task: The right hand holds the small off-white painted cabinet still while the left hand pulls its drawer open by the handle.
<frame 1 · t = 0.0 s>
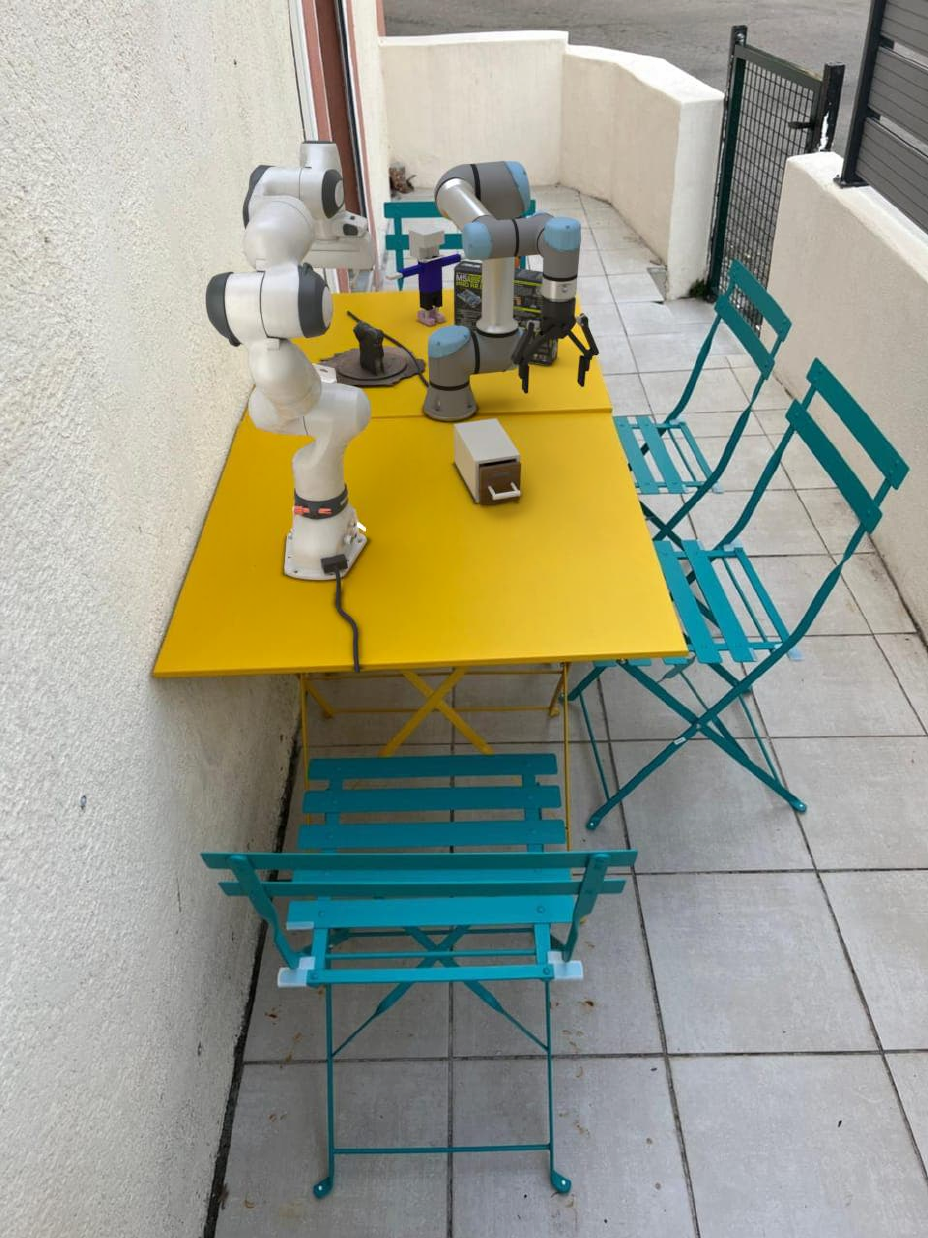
left hand: (332, 287, 199), 48 cm above the table, tool pointing down, fingers open, 8 cm apart
right hand: (552, 387, 205), 28 cm above the table, tool pointing down, fingers open, 13 cm apart
toy: (430, 321, 308), on the table
cabinet: (485, 479, 227), on the table
sculpture: (369, 368, 279), on the table
drawer: (492, 471, 219), point 6 cm above the table, slide at 1.4 cm
figurine: (512, 303, 320), on the table
ink box: (324, 417, 254), on the table
box: (505, 354, 286), on the table
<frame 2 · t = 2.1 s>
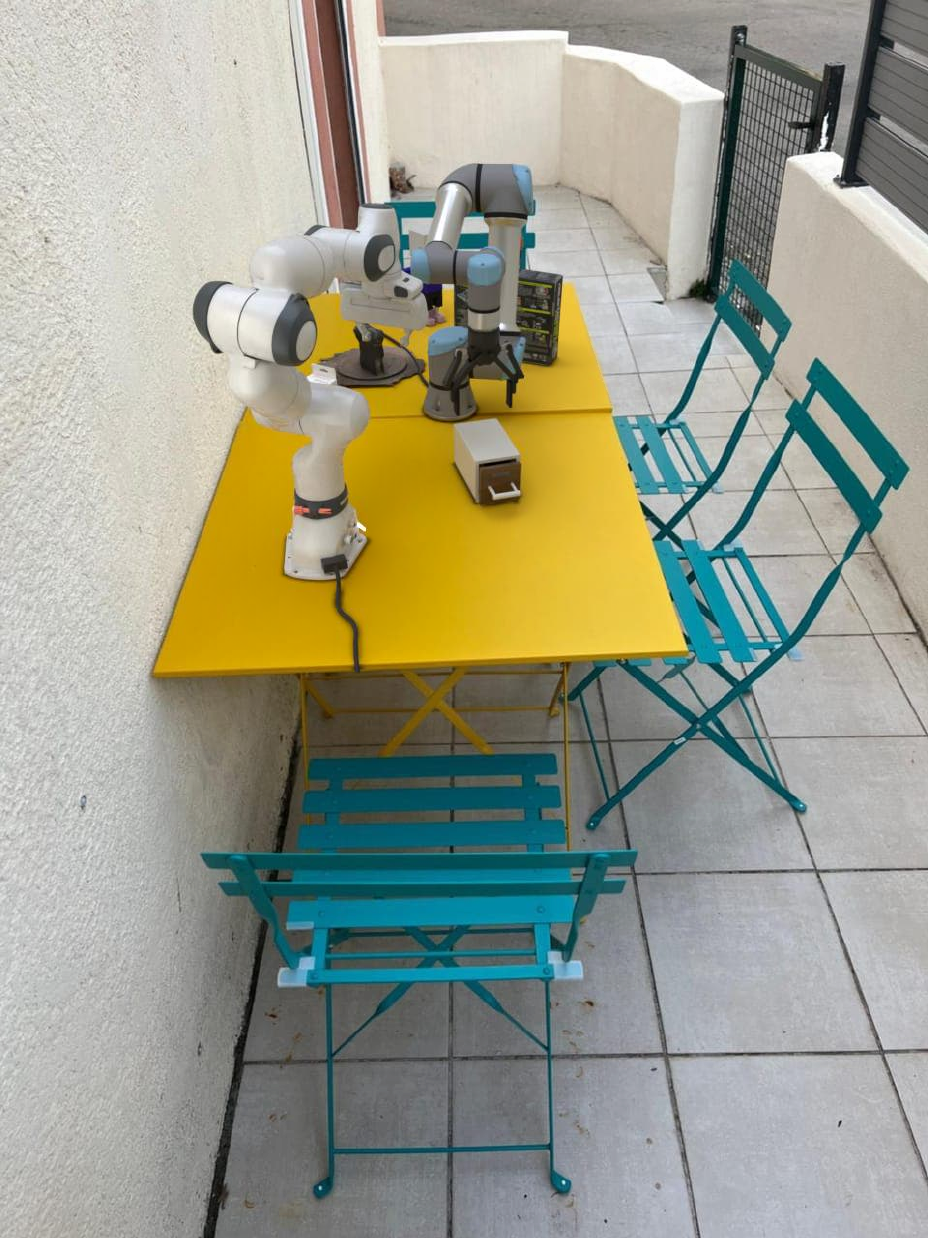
left hand: (385, 342, 202), 37 cm above the table, tool pointing down, fingers open, 8 cm apart
right hand: (483, 409, 220), 17 cm above the table, tool pointing down, fingers open, 13 cm apart
nothing on the table moved.
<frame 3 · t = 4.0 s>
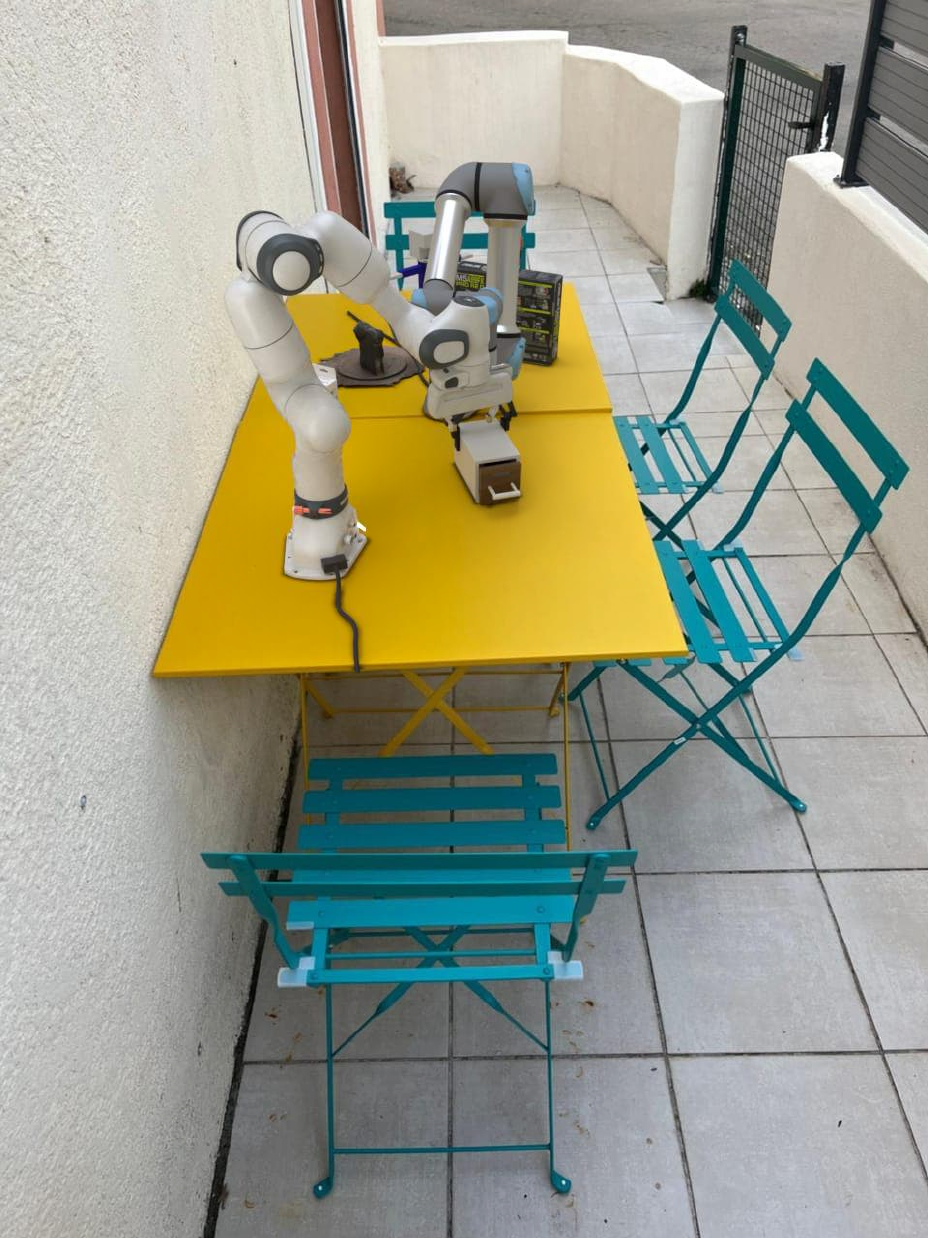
left hand: (471, 426, 206), 21 cm above the table, tool pointing down, fingers open, 8 cm apart
right hand: (480, 445, 226), 7 cm above the table, tool pointing down, fingers closed on cabinet, 11 cm apart
cabinet: (485, 479, 227), on the table, touching right hand
everything else where it was.
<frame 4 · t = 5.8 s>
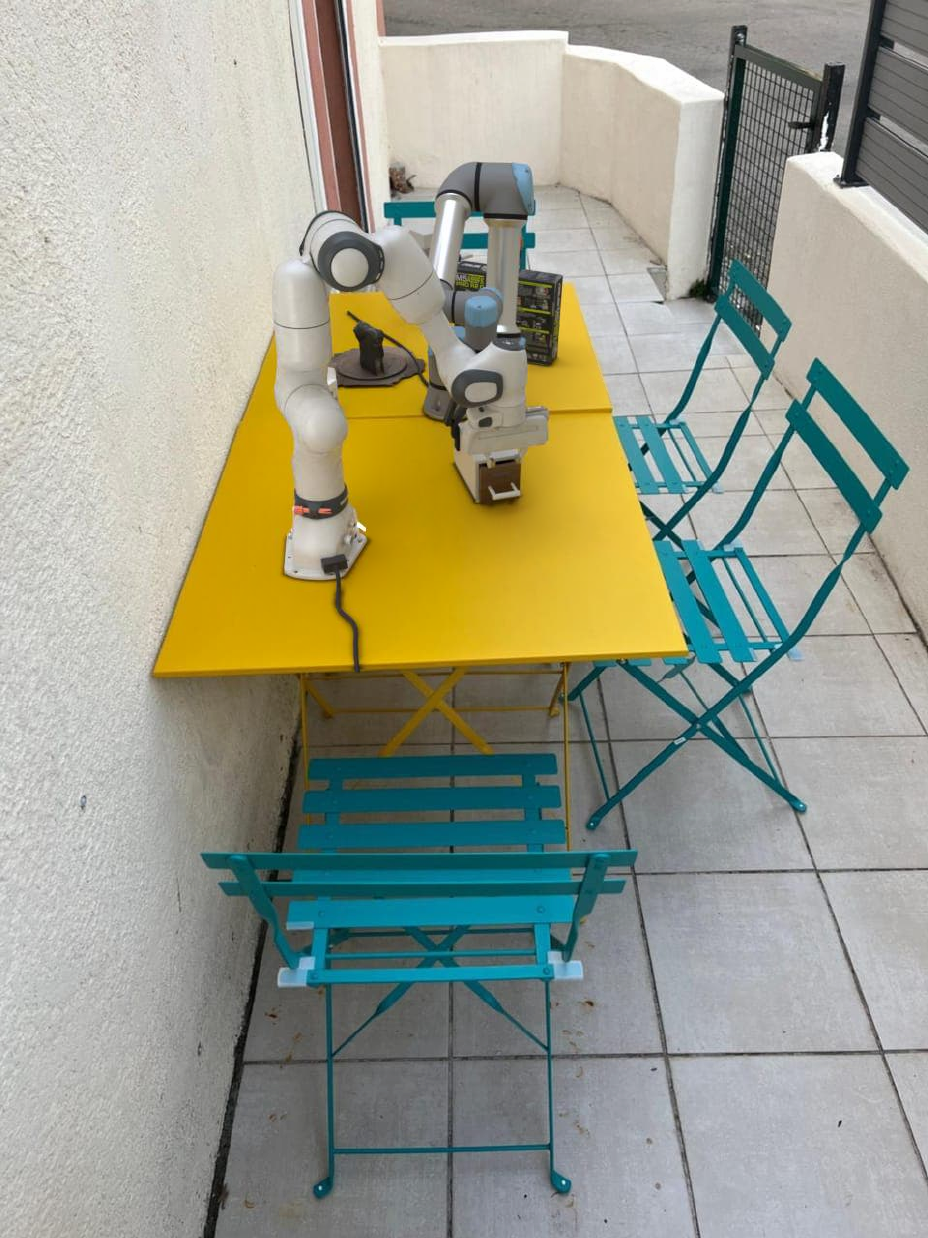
left hand: (504, 464, 208), 13 cm above the table, tool pointing down, fingers open, 5 cm apart
right hand: (480, 445, 226), 7 cm above the table, tool pointing down, fingers closed on cabinet, 11 cm apart
cabinet: (485, 479, 227), on the table, touching right hand
everything else where it was.
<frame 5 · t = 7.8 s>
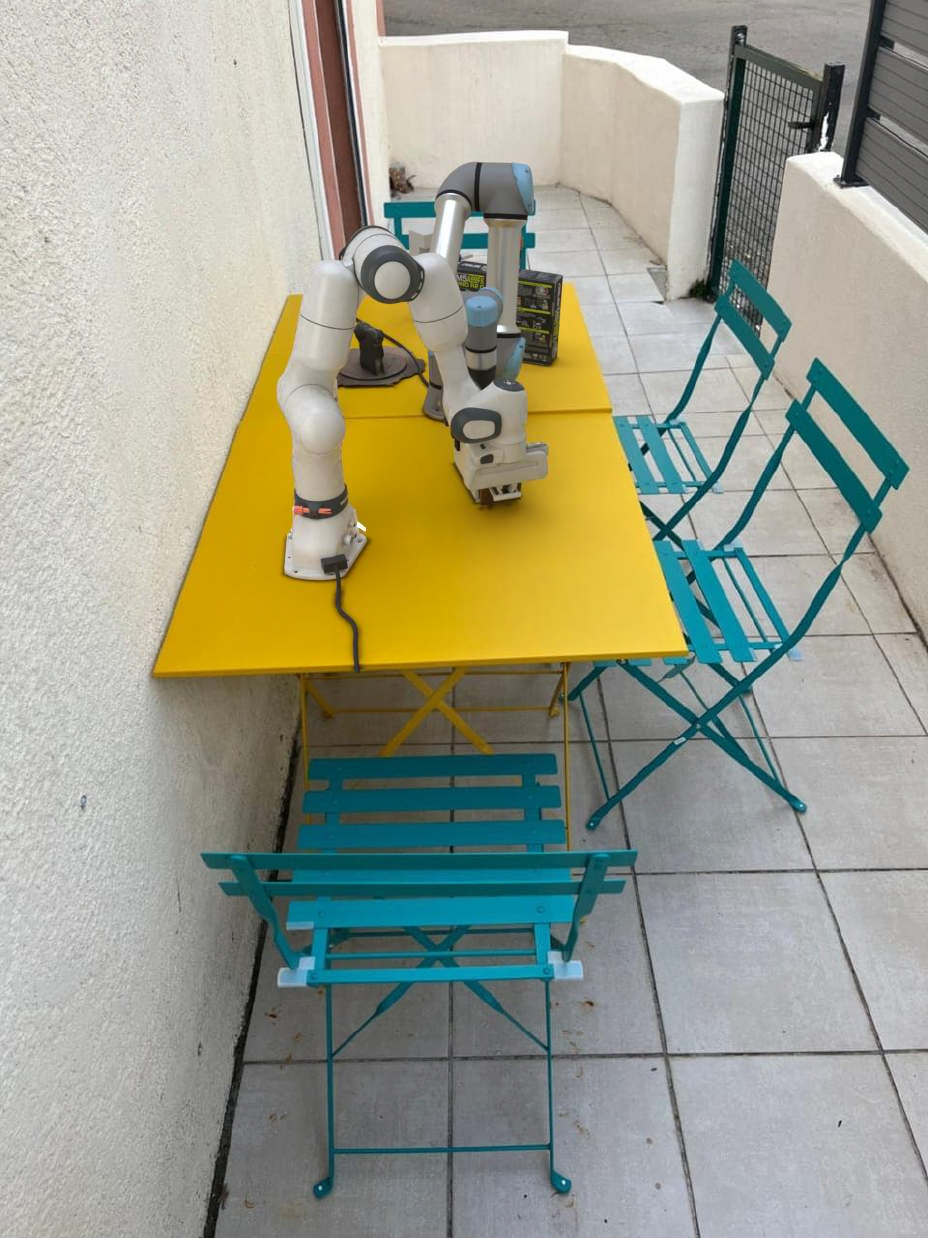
left hand: (505, 498, 213), 4 cm above the table, tool pointing down, fingers closed, pressing on drawer
right hand: (480, 445, 226), 7 cm above the table, tool pointing down, fingers closed on cabinet, 11 cm apart
cabinet: (485, 479, 227), on the table, touching right hand
drawer: (493, 472, 219), point 6 cm above the table, slide at 2.0 cm, touching left hand
everything else where it was.
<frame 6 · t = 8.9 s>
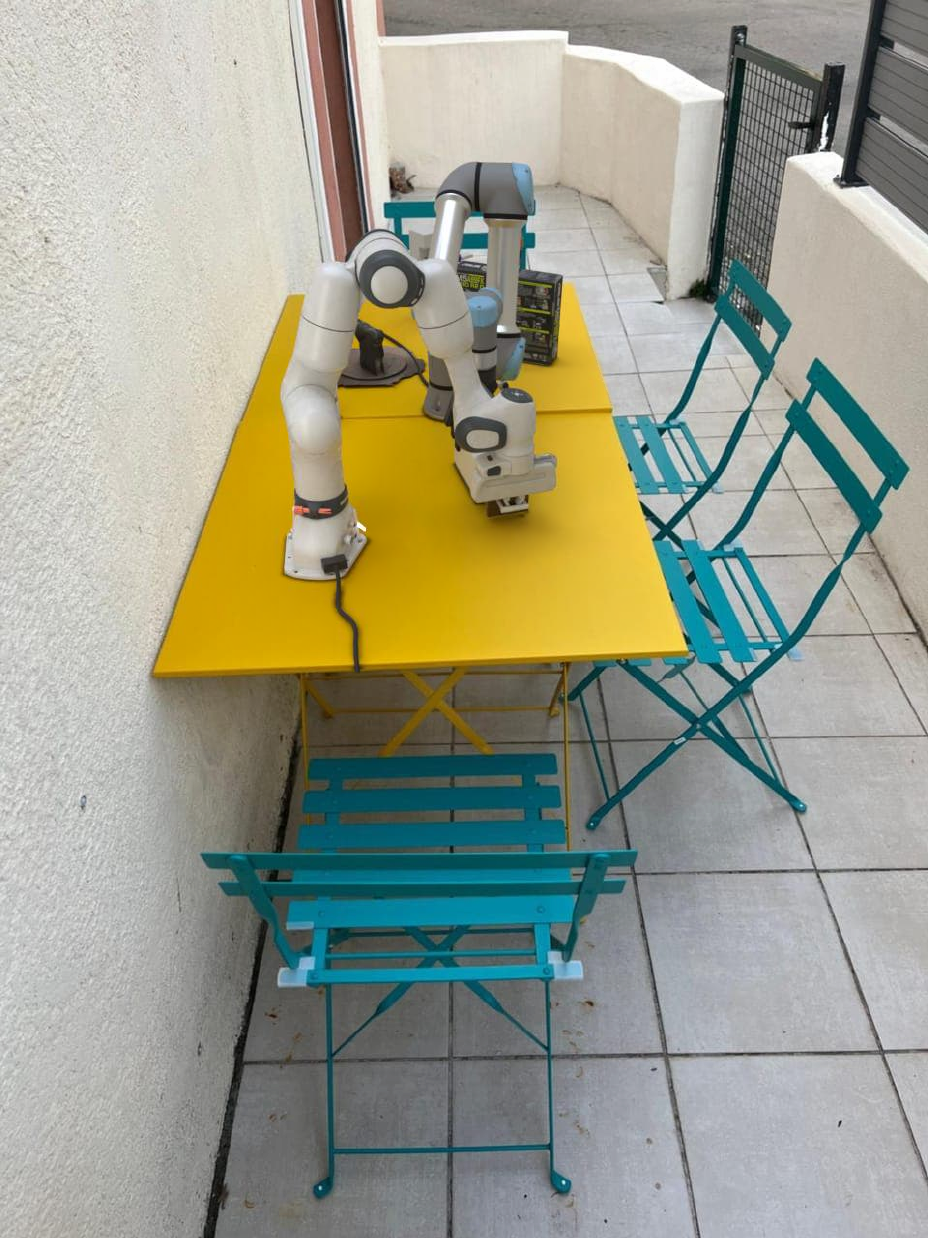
left hand: (512, 510, 209), 4 cm above the table, tool pointing down, fingers closed, pressing on drawer
right hand: (480, 445, 226), 7 cm above the table, tool pointing down, fingers closed on cabinet, 11 cm apart
cabinet: (486, 479, 227), on the table, touching right hand
drawer: (500, 483, 215), point 6 cm above the table, slide at 7.2 cm, touching left hand
everything else where it was.
when the right hand's fingers open (7 cm above the table, at t = 10.8 s): cabinet stays where it is, on the table.
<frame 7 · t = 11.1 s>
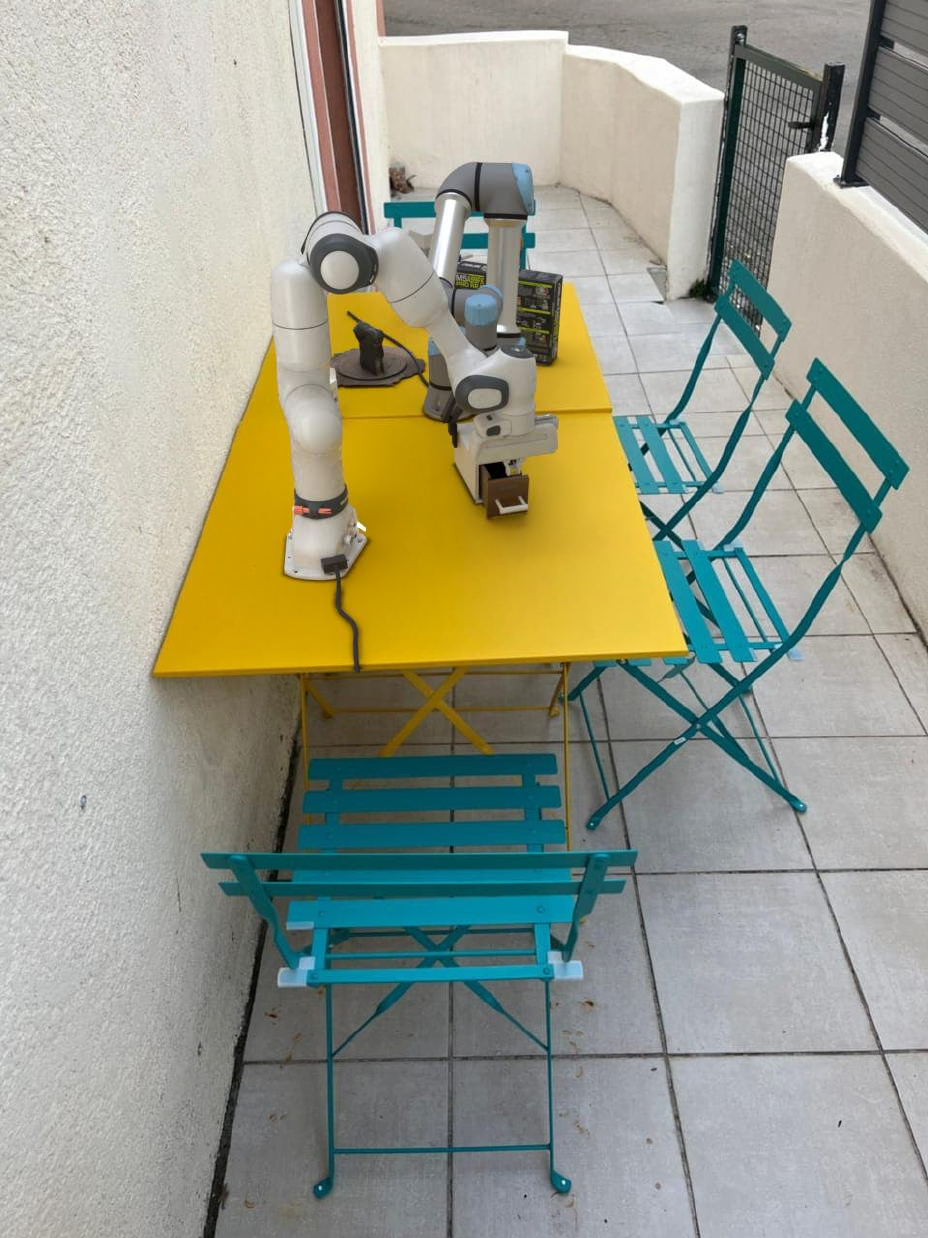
left hand: (512, 473, 203), 14 cm above the table, tool pointing down, fingers closed
right hand: (480, 441, 226), 8 cm above the table, tool pointing down, fingers open, 13 cm apart
cabinet: (485, 480, 227), on the table
drawer: (499, 483, 215), point 6 cm above the table, slide at 7.3 cm
everything else where it was.
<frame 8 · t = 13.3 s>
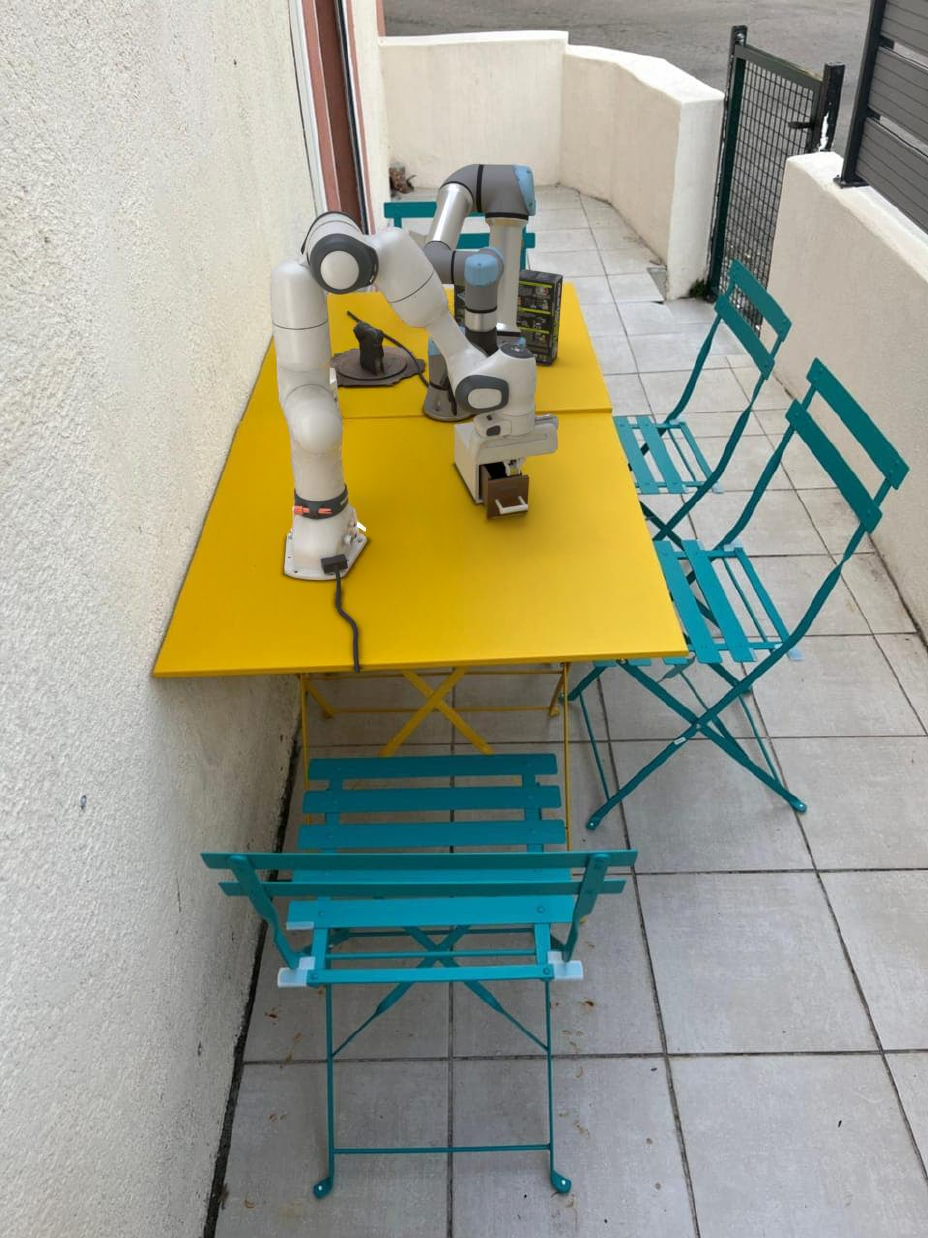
left hand: (512, 473, 203), 14 cm above the table, tool pointing down, fingers closed
right hand: (480, 409, 220), 17 cm above the table, tool pointing down, fingers open, 13 cm apart
nothing on the table moved.
at the end: drawer slide at 7.3 cm; cabinet tilted 0°; cabinet never tilted more than 2° during the clip; cabinet moved 0.4 cm from its start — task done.
